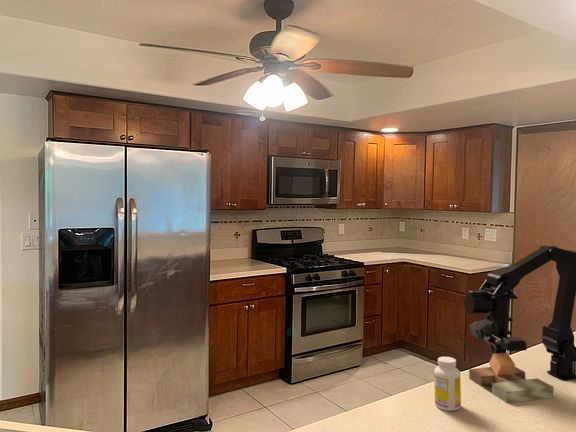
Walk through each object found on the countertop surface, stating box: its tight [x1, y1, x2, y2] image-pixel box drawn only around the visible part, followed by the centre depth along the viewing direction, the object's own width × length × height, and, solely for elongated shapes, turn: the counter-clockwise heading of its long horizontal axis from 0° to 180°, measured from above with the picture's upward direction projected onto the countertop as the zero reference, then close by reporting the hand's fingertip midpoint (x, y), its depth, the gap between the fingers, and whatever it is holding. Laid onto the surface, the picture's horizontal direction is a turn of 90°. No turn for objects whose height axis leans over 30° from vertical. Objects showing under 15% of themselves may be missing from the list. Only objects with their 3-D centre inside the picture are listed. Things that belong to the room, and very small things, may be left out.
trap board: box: [468, 365, 555, 404], centre depth 130 cm, size 15×17×3 cm
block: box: [488, 352, 516, 376], centre depth 132 cm, size 4×4×4 cm
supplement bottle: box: [433, 356, 462, 412], centre depth 119 cm, size 7×7×13 cm
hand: (495, 362), depth 135 cm, fingers closed, pressing on block
